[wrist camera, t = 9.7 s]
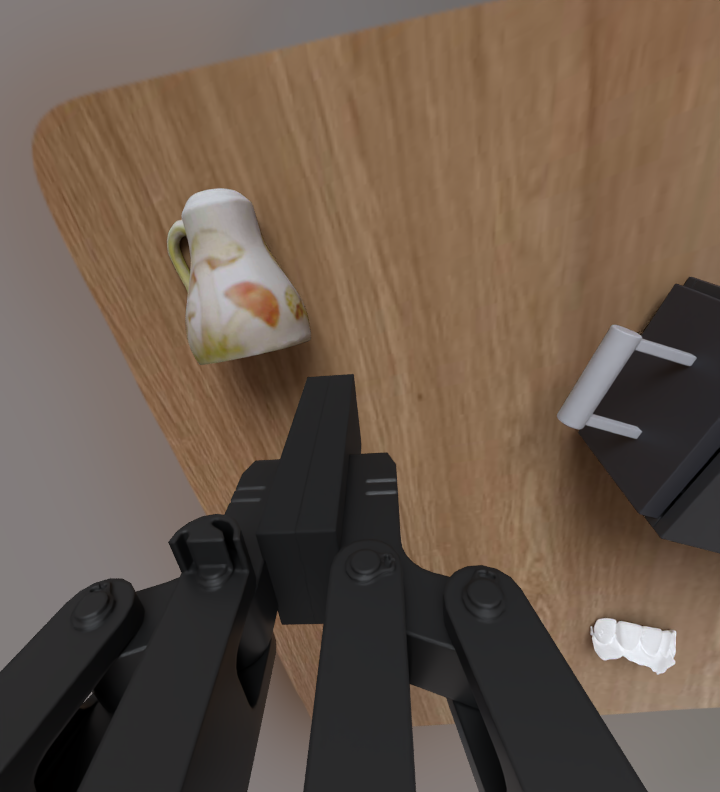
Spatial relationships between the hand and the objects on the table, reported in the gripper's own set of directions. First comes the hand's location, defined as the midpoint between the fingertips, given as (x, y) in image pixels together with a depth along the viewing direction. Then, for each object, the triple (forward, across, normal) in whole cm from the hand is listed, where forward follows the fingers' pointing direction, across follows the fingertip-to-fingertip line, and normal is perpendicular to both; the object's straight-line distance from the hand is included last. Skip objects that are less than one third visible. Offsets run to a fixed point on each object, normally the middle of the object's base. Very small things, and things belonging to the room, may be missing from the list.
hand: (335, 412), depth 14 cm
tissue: (+16, +24, -37) cm, 47 cm away
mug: (+16, -7, +2) cm, 17 cm away
